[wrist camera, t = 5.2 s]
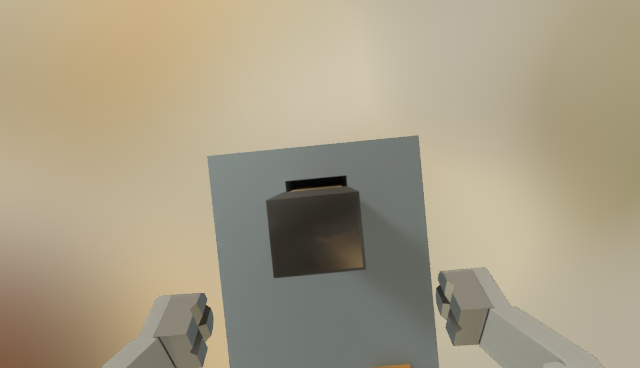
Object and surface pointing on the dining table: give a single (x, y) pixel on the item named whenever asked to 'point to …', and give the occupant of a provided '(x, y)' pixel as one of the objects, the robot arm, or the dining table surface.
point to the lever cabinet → (331, 288)
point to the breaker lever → (316, 231)
